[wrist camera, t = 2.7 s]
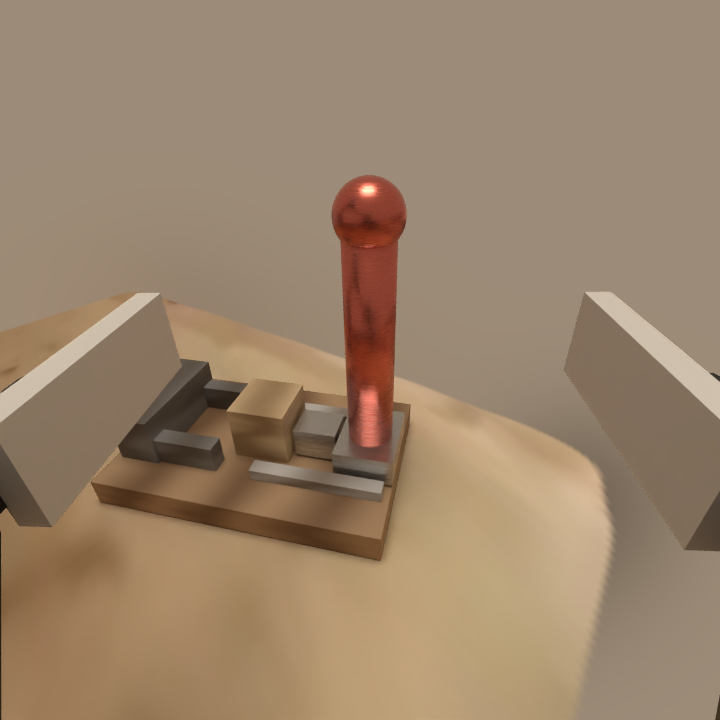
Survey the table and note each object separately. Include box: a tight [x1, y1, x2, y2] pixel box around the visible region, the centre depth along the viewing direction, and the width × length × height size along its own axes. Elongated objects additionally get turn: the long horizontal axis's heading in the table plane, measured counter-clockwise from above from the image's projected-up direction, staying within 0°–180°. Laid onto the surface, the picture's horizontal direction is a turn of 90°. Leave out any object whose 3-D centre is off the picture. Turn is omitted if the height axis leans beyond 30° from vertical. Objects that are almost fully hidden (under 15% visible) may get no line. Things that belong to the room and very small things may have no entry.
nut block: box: [226, 379, 305, 463], centre depth 30 cm, size 4×4×4 cm
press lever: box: [293, 175, 407, 486], centre depth 25 cm, size 7×5×18 cm
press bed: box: [91, 359, 410, 561], centre depth 31 cm, size 20×13×6 cm, turn 77°
